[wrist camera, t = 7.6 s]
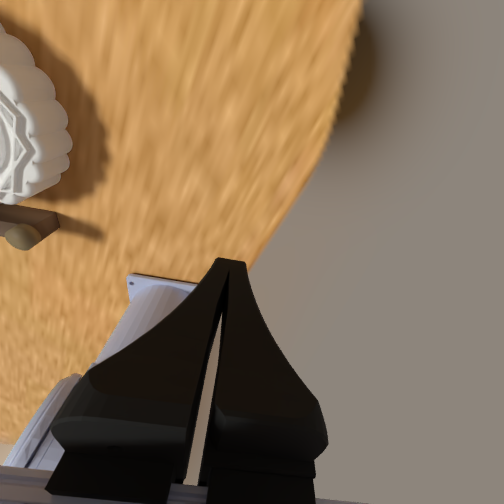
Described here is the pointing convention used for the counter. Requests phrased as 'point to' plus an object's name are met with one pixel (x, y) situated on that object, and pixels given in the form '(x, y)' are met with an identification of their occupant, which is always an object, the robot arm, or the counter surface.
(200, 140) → the counter surface
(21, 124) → the mooncake
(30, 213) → the lid holder
